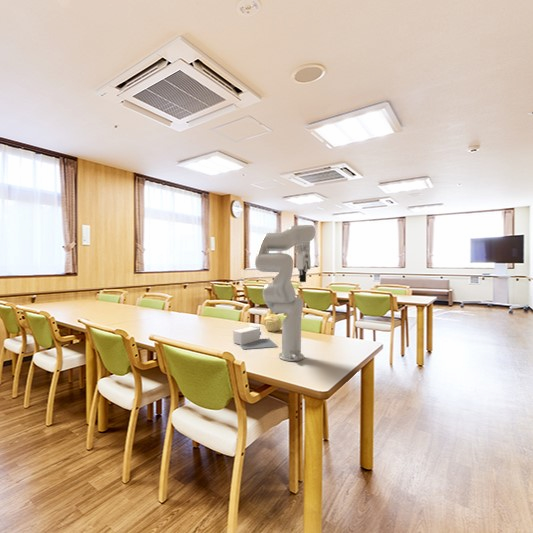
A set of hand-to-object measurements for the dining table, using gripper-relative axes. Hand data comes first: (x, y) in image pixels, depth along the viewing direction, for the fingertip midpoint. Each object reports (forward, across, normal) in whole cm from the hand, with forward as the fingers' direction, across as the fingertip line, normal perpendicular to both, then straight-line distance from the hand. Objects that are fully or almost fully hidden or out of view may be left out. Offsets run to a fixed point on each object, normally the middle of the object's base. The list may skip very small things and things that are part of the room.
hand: (302, 281), depth 172 cm
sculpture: (+37, +43, +4) cm, 57 cm away
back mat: (+37, +13, +23) cm, 46 cm away
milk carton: (+33, +15, +35) cm, 50 cm away
